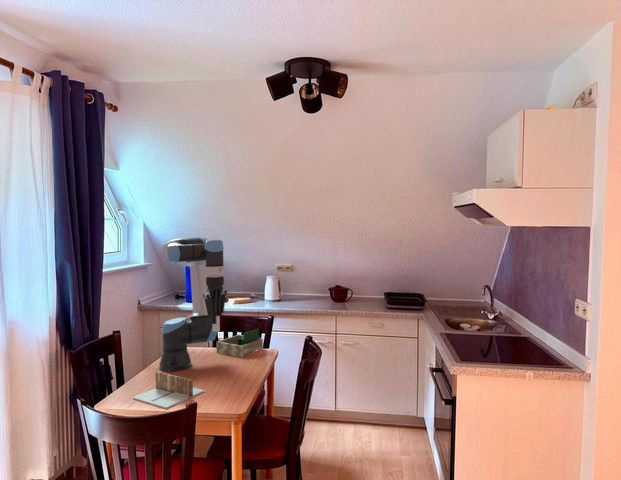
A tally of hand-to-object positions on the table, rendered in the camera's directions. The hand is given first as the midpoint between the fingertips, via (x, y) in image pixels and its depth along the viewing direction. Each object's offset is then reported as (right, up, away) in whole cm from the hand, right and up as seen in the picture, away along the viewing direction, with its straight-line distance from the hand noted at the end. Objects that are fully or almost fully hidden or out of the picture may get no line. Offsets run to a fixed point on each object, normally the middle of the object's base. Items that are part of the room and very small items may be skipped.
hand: (216, 330), depth 188 cm
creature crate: (+1, -23, +56) cm, 60 cm away
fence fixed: (-21, -25, -2) cm, 33 cm away
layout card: (-18, -25, -6) cm, 32 cm away
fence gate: (-12, -24, -8) cm, 28 cm away
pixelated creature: (+3, -23, +57) cm, 61 cm away
